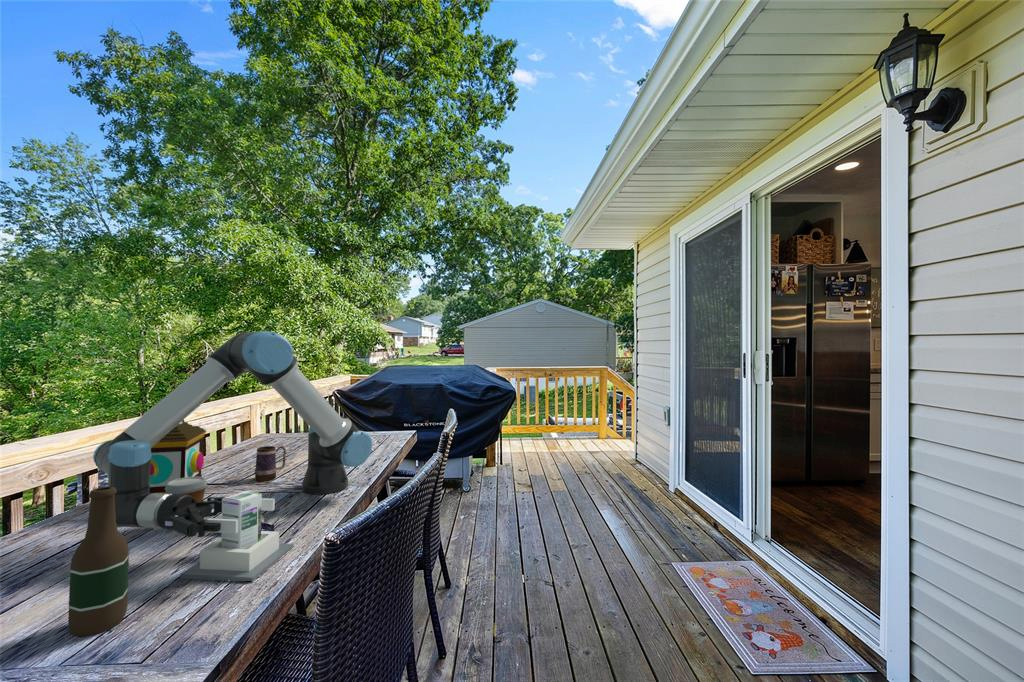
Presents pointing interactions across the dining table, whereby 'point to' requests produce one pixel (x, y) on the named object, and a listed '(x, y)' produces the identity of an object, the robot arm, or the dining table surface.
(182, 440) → the decorative lantern
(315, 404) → the robot arm
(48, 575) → the dining table surface
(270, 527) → the snack package
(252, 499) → the syrup box
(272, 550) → the socket holder
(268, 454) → the mug
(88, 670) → the dining table surface
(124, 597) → the beer bottle
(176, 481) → the disposable coffee cup
